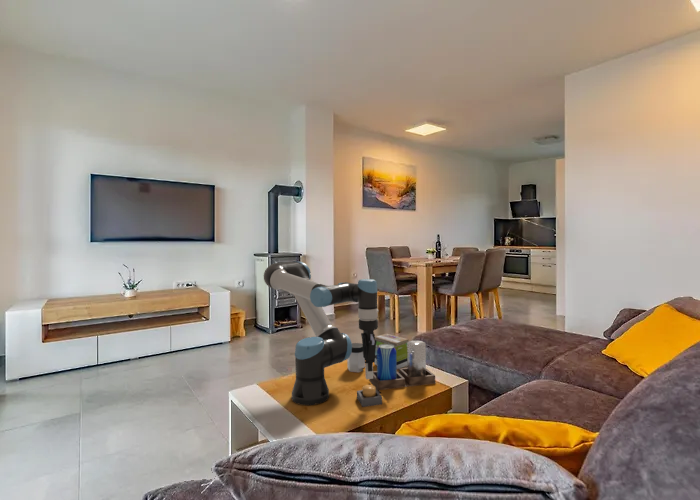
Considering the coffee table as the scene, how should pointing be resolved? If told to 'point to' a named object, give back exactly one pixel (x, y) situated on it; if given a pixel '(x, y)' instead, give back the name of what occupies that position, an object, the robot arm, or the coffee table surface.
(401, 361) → the tea box
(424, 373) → the billet
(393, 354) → the beer can
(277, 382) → the coffee table surface
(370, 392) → the button
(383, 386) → the tray
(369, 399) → the button housing
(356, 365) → the jar
